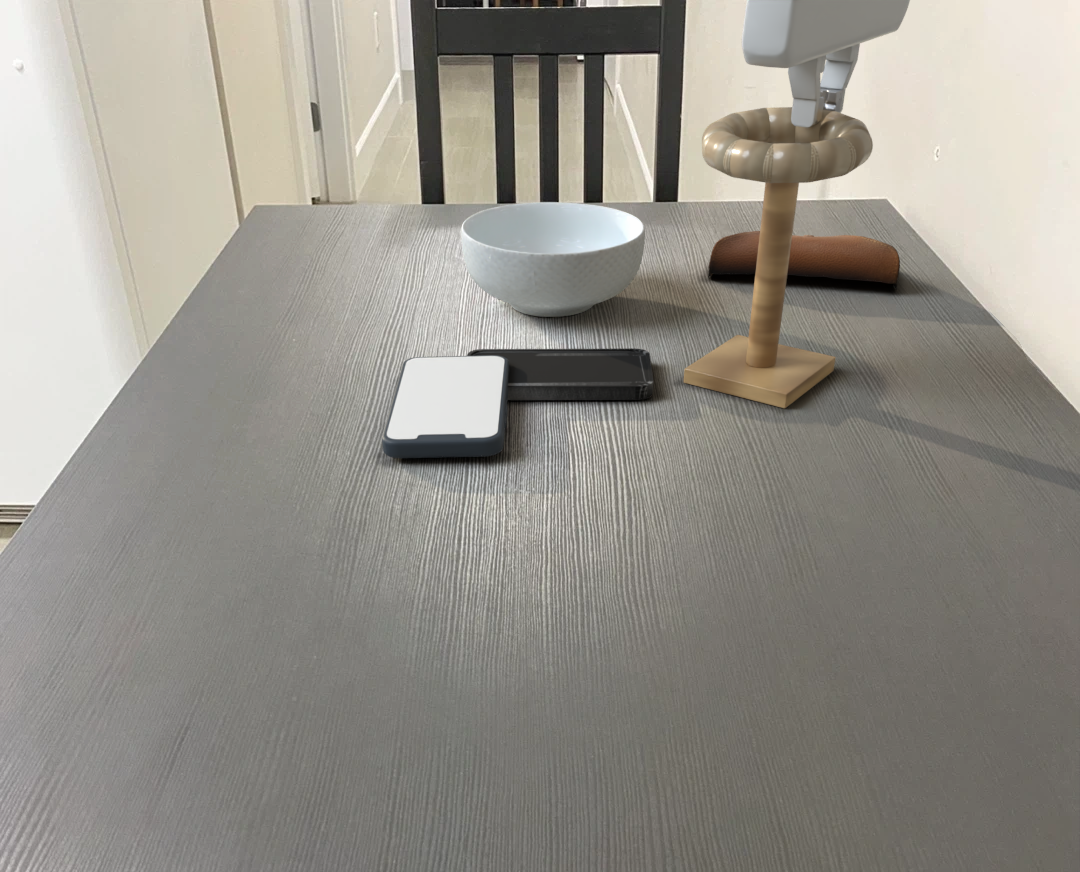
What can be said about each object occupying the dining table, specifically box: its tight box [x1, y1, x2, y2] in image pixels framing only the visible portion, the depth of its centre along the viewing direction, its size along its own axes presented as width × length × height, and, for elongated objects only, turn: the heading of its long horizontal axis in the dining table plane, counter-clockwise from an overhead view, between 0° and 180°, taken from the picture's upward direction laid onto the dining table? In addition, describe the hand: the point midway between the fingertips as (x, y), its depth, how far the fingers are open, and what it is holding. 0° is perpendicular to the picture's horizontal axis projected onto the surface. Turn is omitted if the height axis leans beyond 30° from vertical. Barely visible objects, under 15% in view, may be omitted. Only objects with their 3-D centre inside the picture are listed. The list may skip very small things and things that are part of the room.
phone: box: [466, 347, 654, 401], centre depth 88 cm, size 8×1×15 cm
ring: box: [701, 106, 874, 184], centre depth 78 cm, size 12×12×2 cm
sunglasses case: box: [707, 230, 901, 291], centre depth 106 cm, size 18×7×7 cm
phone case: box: [381, 355, 509, 459], centre depth 83 cm, size 9×2×16 cm
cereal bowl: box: [460, 201, 646, 318], centre depth 100 cm, size 17×17×7 cm
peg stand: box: [683, 182, 837, 409], centre depth 84 cm, size 9×9×15 cm
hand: (816, 120), depth 80 cm, fingers closed on ring, 2 cm apart
